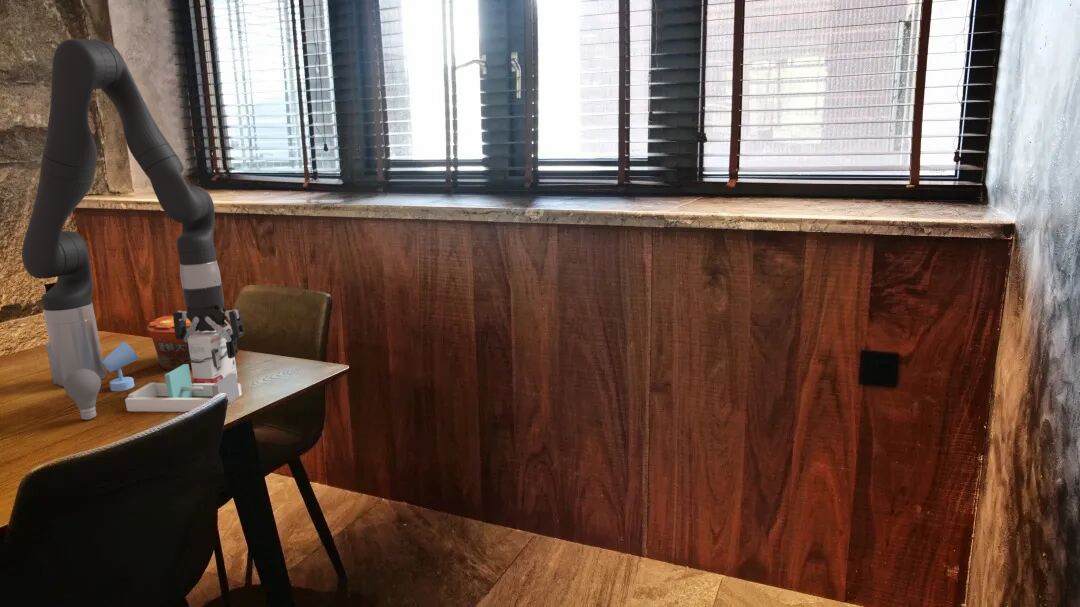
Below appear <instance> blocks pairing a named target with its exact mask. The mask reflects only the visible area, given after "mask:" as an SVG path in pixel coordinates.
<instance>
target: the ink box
mask: <svg viewBox="0 0 1080 607" xmlns="http://www.w3.org/2000/svg"><path fill="white" fill-rule="evenodd" d="M187 339H188V345H189V352H190V359H191V366H192V369H191V370H192V371H191V372H192V379H193V383H217V382H218V381H220V380H221V379H223V378H224V377H226V376H228V375H229V374H231V373H236V375H237V379H238V372H237V363H236V356H235V357H234V358H228V354H227V348H226V342H227V341H226V339H225V338H224V337H223V336H222V335H220V334H218V333H217V332H216V331H203V332H198V333H195V334H193V335H190V336H189V338H187Z"/></svg>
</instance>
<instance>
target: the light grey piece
mask: <svg viewBox="0 0 1080 607" xmlns="http://www.w3.org/2000/svg"><path fill="white" fill-rule="evenodd" d="M237 377H238V374H237V375H236V373H231V374H229V375H228V376H226V377H224V378H223V379H221V380H220V381H218V382H217V383H194V382H191V383H192V387H203V391H193V396H192V397H190V398H168V393H167V387H166V382H165V383H164V382H149V383H147V384H145V385H144V386H141V387H140V388H138V389H137V390H135V391H133V392H131V393H129V394H128V395H127V397H126V398H125V399H124V401H125V406H126V411H127V412H171V413H172V412H173V413H174V412H175V413H176V412H182V413H183V412H186V411H189V410H191V409H193V408H195V407H197V406H199V405H201V404H202V403H204V402H205V401H207V400H209V399H210V398H211V397H212V398H213V397H214V396H215V395H217V394H219V393H226V394H227V395H228V397H229V401H230V404H231V403H233V402H234V401H235V400H237V399H238V398H239V397H241V396H242V394H243V393H242V384H241V383H239V382H238V378H237Z"/></svg>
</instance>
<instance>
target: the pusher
mask: <svg viewBox="0 0 1080 607" xmlns="http://www.w3.org/2000/svg"><path fill="white" fill-rule="evenodd" d="M190 370H191V369H190ZM190 370H189V364H183V365H182V366H180V367H178V368H176V369H174V370H170V371H169V372H167V373H165V374H164V379H165V380H164V381H165V383H166V387H167V393H168V396H167V398H193V397H194V396H193V391H203V387H192V383H193V382H192V377H191V371H190Z"/></svg>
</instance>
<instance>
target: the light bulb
mask: <svg viewBox="0 0 1080 607" xmlns="http://www.w3.org/2000/svg"><path fill="white" fill-rule="evenodd" d="M101 385H102V380H100V377H99V376H98V375H97V374H96V373H95V372H94V371H92V370H89V369H78V370H75V371H73V372H71V373H70V374H69V375H68V376H67V378H66V379H65V382H64V387H63V389H64V391H65V394H67V396H69V397H70V399H72V400H73V402H74V403H75V404H76V405H75V406H76V407H77V408H78V410H79V414H80V419H82V420H86V421H89V420H92V419H94V418H95V417H96V416H97V411H96V410H97V409H96V405H97V396H98V394H99V392H100V389H101Z"/></svg>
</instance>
